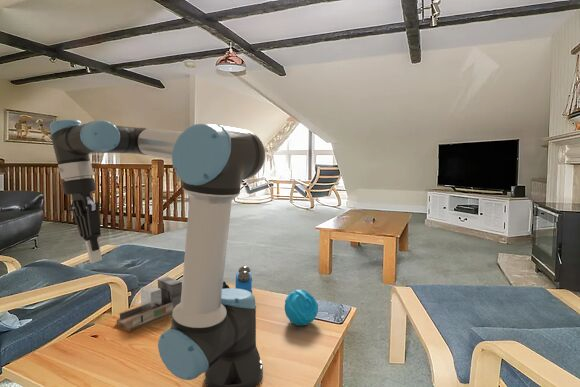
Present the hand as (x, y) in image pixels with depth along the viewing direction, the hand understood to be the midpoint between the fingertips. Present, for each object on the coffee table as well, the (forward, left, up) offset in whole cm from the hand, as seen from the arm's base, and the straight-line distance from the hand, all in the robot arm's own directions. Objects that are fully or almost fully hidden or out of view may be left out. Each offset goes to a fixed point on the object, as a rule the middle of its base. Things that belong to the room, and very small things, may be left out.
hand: (96, 261), depth 93 cm
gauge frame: (+13, -22, -29) cm, 39 cm away
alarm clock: (-7, -50, -29) cm, 59 cm away
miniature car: (+8, -45, -29) cm, 54 cm away
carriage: (+12, -23, -27) cm, 37 cm away
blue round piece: (-33, -52, -29) cm, 68 cm away
